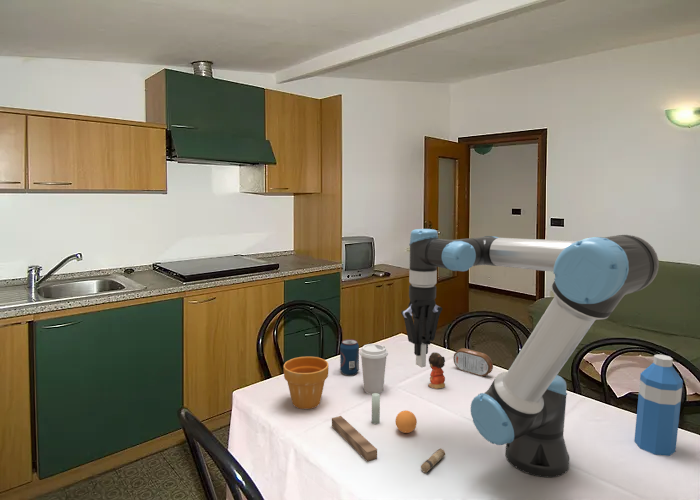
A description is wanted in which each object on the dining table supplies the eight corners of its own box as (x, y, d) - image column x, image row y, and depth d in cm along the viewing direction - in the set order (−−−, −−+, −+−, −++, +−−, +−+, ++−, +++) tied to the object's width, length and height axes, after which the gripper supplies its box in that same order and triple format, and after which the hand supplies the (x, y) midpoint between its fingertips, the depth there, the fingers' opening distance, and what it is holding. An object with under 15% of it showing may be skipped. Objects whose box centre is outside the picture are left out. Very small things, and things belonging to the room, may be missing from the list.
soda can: (338, 369, 178) (338, 339, 177) (356, 368, 180) (356, 337, 178) (342, 377, 172) (342, 345, 170) (361, 375, 173) (361, 343, 172)
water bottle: (676, 460, 121) (686, 366, 117) (633, 449, 125) (642, 359, 122) (674, 443, 128) (683, 355, 125) (634, 433, 133) (642, 348, 130)
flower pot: (334, 409, 147) (334, 369, 145) (289, 416, 143) (289, 375, 141) (321, 390, 160) (321, 354, 159) (280, 397, 156) (279, 359, 154)
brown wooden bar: (377, 458, 121) (377, 449, 121) (367, 461, 120) (367, 452, 119) (340, 423, 138) (340, 415, 138) (331, 426, 137) (331, 418, 137)
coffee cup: (385, 397, 156) (386, 353, 154) (357, 394, 158) (357, 351, 155) (389, 385, 165) (389, 343, 163) (362, 382, 167) (362, 342, 165)
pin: (441, 457, 122) (423, 474, 115) (436, 450, 123) (418, 466, 116) (446, 454, 121) (429, 471, 114) (442, 447, 122) (424, 462, 115)
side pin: (381, 422, 139) (381, 395, 138) (374, 424, 138) (374, 397, 137) (376, 419, 141) (377, 392, 140) (370, 421, 140) (370, 394, 139)
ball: (419, 417, 131) (402, 428, 129) (421, 429, 134) (404, 441, 132) (407, 402, 135) (390, 413, 133) (409, 415, 139) (392, 425, 137)
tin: (492, 377, 172) (493, 354, 171) (489, 379, 170) (490, 357, 169) (455, 366, 182) (456, 345, 181) (451, 368, 180) (452, 347, 179)
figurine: (448, 385, 165) (449, 352, 163) (442, 391, 160) (443, 357, 159) (431, 381, 168) (432, 348, 167) (425, 386, 164) (426, 353, 162)
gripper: (432, 279, 138) (430, 357, 141) (395, 284, 132) (394, 365, 135) (449, 284, 131) (447, 365, 135) (411, 289, 125) (409, 374, 128)
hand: (420, 365), depth 135 cm, fingers closed
